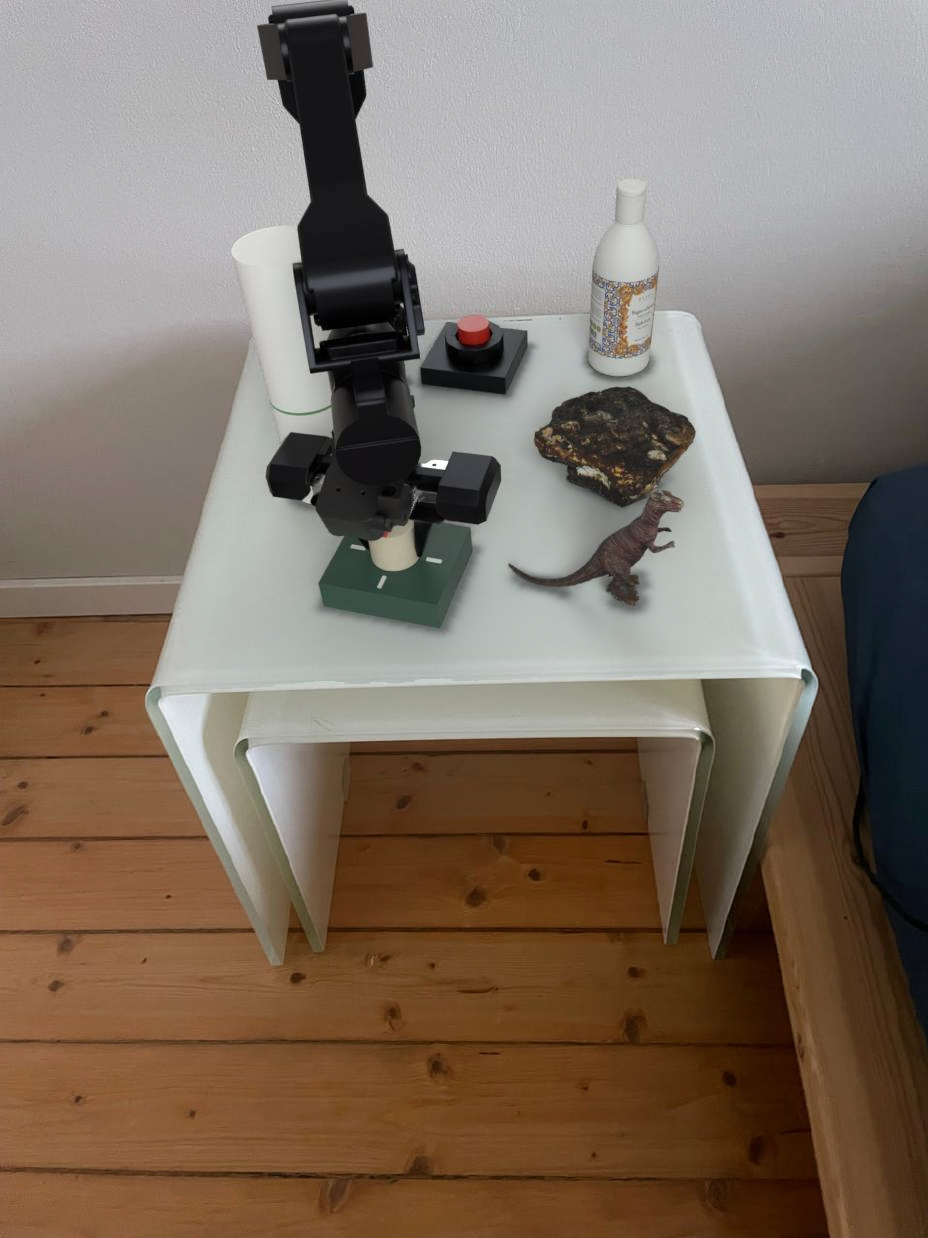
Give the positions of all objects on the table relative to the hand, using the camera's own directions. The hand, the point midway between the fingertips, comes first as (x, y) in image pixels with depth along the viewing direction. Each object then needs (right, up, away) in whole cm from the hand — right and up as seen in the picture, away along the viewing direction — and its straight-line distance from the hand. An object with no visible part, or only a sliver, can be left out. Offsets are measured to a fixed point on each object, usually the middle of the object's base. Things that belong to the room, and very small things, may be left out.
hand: (395, 550), depth 81 cm
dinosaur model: (+17, -3, +1) cm, 18 cm away
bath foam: (+24, +23, +24) cm, 41 cm away
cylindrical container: (-8, +8, +13) cm, 17 cm away
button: (+7, +26, +23) cm, 35 cm away
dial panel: (0, -2, +3) cm, 4 cm away
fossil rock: (+21, +8, +11) cm, 25 cm away
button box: (+7, +24, +25) cm, 35 cm away
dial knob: (0, 0, 0) cm, 0 cm away
